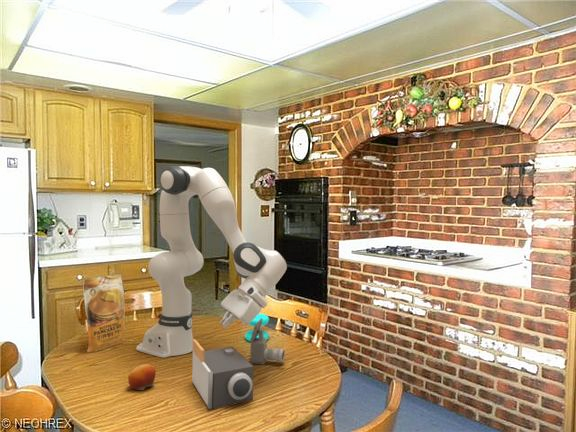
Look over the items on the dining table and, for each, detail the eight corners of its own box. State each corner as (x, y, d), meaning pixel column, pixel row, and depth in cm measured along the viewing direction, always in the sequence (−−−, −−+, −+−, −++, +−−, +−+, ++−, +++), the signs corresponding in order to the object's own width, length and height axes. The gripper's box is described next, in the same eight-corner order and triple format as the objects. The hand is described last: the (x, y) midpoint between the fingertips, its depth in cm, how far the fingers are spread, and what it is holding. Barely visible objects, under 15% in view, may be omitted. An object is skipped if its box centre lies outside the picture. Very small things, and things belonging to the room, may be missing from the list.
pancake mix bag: (76, 351, 152) (77, 278, 151) (120, 337, 168) (121, 271, 167) (87, 355, 148) (87, 280, 147) (131, 341, 165) (131, 273, 164)
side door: (191, 381, 128) (192, 339, 127) (195, 380, 128) (195, 339, 128) (208, 409, 111) (209, 361, 110) (212, 408, 111) (213, 360, 111)
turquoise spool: (256, 320, 163) (240, 315, 170) (255, 345, 163) (240, 339, 170) (273, 316, 170) (258, 311, 177) (273, 339, 170) (257, 333, 177)
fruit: (143, 392, 118) (135, 365, 120) (129, 399, 122) (120, 373, 124) (165, 382, 125) (156, 357, 127) (150, 389, 128) (142, 365, 130)
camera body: (196, 382, 128) (197, 349, 128) (232, 375, 133) (232, 343, 133) (215, 413, 110) (216, 374, 109) (256, 403, 115) (256, 366, 115)
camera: (280, 369, 140) (281, 327, 139) (248, 366, 142) (248, 324, 141) (285, 360, 148) (286, 319, 148) (255, 356, 150) (255, 317, 150)
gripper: (234, 281, 142) (206, 311, 137) (257, 292, 123) (226, 328, 119) (245, 292, 144) (219, 322, 139) (269, 305, 126) (240, 340, 121)
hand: (222, 325), depth 129 cm, fingers closed
